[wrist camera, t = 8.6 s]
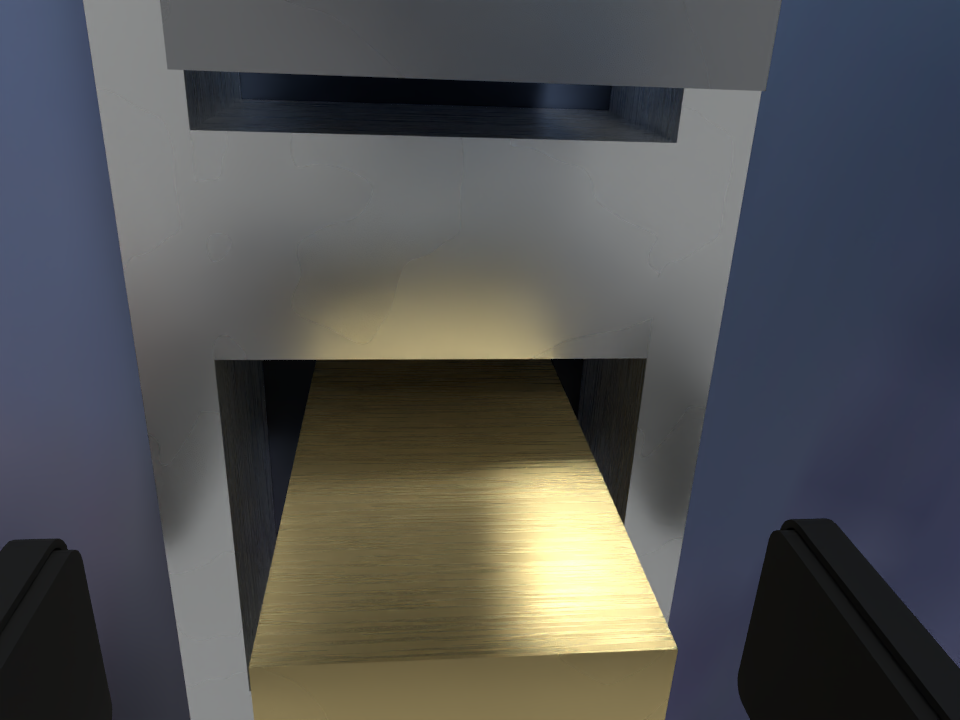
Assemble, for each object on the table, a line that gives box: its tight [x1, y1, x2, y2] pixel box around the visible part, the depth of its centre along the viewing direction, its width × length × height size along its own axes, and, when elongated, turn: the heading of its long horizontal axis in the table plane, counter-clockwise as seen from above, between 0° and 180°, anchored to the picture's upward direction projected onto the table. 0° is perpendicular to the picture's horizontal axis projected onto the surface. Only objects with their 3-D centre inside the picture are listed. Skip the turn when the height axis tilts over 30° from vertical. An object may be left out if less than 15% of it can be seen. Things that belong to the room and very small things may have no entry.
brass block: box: [249, 359, 678, 720], centre depth 12 cm, size 4×4×8 cm
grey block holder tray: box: [83, 0, 761, 720], centre depth 12 cm, size 8×19×4 cm, turn 178°
